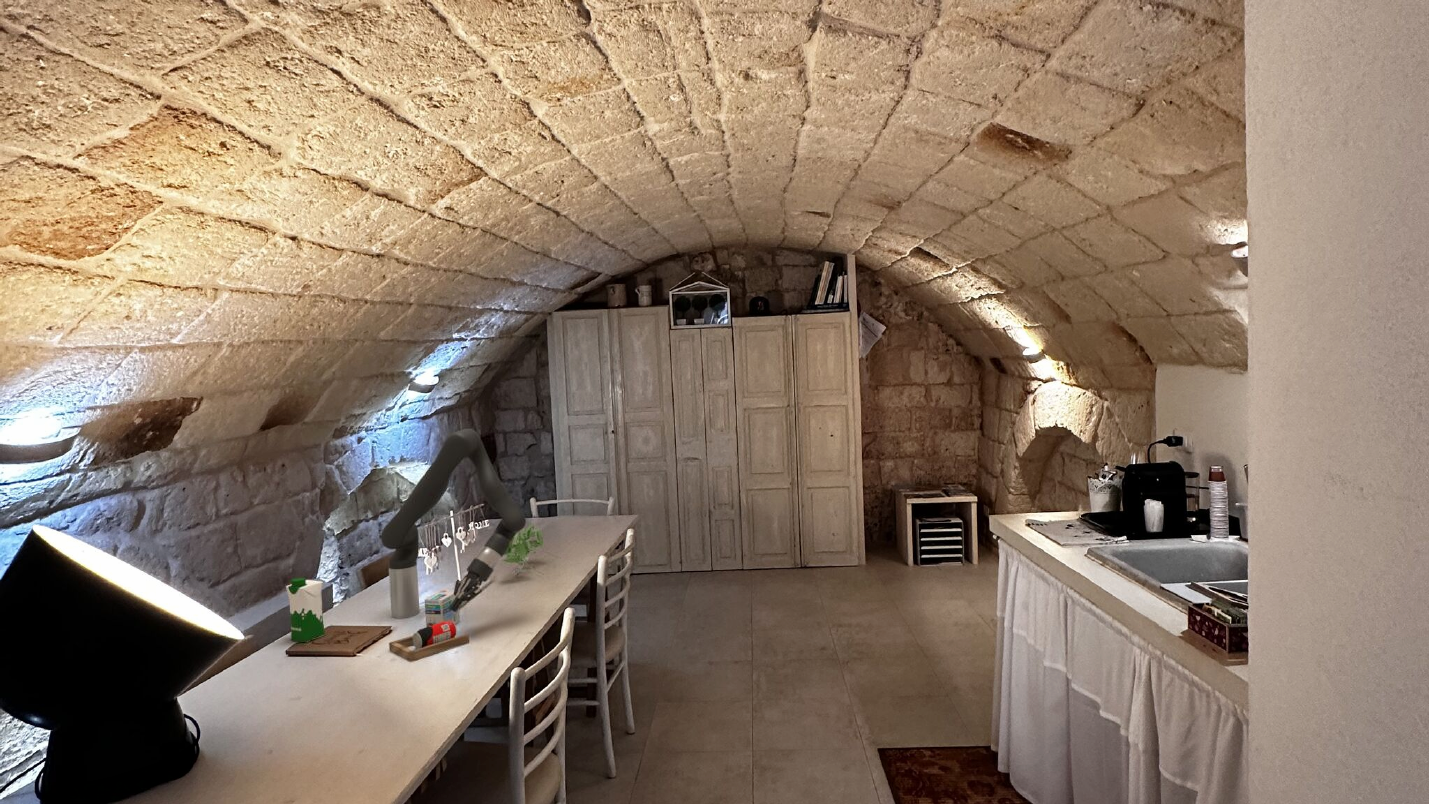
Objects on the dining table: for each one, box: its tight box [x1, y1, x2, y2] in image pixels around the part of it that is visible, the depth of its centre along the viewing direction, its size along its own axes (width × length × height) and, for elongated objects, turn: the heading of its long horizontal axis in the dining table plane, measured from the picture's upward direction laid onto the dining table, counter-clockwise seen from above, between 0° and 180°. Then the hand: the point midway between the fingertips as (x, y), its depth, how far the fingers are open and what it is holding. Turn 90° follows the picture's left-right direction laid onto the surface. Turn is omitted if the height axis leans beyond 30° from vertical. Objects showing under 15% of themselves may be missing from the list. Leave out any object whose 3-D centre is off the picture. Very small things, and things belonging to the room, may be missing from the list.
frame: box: [388, 633, 470, 662], centre depth 238 cm, size 14×19×2 cm
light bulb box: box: [424, 589, 461, 628], centre depth 256 cm, size 11×7×11 cm, turn 168°
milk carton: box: [285, 577, 326, 643], centre depth 249 cm, size 9×9×20 cm
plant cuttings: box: [502, 524, 560, 579], centre depth 316 cm, size 35×17×22 cm
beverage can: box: [412, 621, 457, 650], centre depth 238 cm, size 6×6×12 cm
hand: (452, 610), depth 243 cm, fingers closed
